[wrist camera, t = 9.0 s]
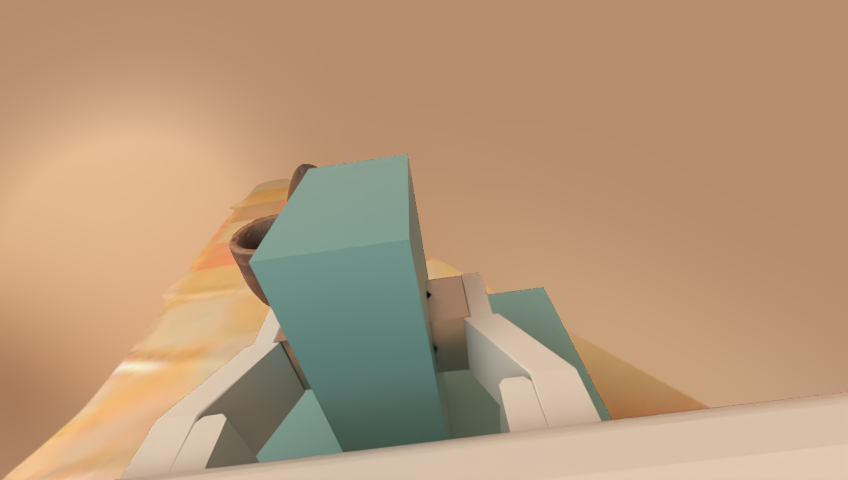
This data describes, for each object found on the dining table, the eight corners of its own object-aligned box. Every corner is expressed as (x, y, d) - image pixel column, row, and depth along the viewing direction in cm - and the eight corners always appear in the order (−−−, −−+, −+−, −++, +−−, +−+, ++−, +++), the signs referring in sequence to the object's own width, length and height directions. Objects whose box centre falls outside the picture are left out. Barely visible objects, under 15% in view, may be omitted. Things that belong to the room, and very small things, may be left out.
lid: (747, 773, 7) (1786, 671, 1) (142, 825, 8) (-1101, 922, 2) (541, 319, 18) (554, 90, 12) (296, 351, 19) (195, 145, 13)
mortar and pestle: (365, 290, 48) (327, 144, 38) (364, 336, 40) (316, 169, 31) (280, 305, 47) (218, 161, 37) (263, 355, 40) (180, 191, 30)
